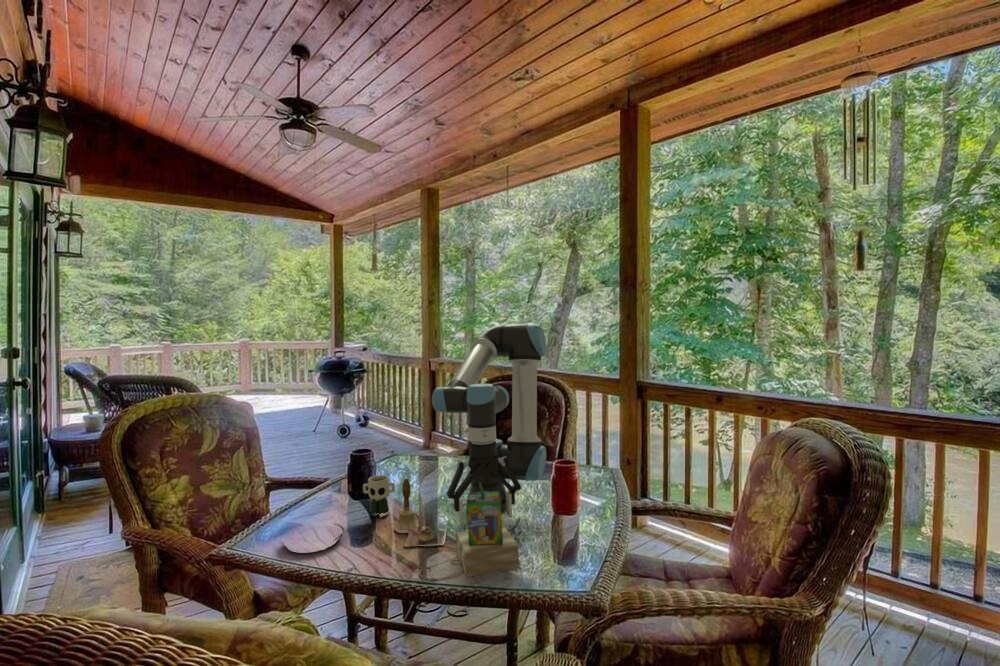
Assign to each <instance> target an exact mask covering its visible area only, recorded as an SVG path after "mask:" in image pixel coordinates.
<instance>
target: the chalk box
mask: <svg viewBox="0 0 1000 666" xmlns="http://www.w3.org/2000/svg"><path fill="white" fill-rule="evenodd" d="M479 486H480V491H481V492H475V493H469V492H468V496H467V498H468V500H467V499H466V502H467V503H466V512H467V513H466V515H467V531H468V535H469V546H473V545H487V544H503V536H502V526H503V525H502V524H503V522H502V521H503V519H502V512H501V500H500V492H488V491H486V492H484V491H483V488H482V485H481V483H480V484H479ZM481 489H482V490H481Z"/></svg>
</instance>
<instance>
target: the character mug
mask: <svg viewBox="0 0 1000 666" xmlns="http://www.w3.org/2000/svg"><path fill="white" fill-rule="evenodd" d="M390 486H391V489H390ZM367 489H368V490H367ZM362 492H363V494H368V497H369V498H370V499H371V505H370V513H371V512H372V513H376V514H377V513H379V514H381V513H386V512H388V511H389V512H390V508H389V503H388V499H387V497H389V496H390V494H391V493H395V492H396V484H395V482H390V477H389V476H388V475H373V476H370V477H369V478H367V483H363V485H362Z"/></svg>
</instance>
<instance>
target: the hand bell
mask: <svg viewBox="0 0 1000 666" xmlns="http://www.w3.org/2000/svg"><path fill="white" fill-rule="evenodd" d="M401 488H402V489H401V491H402V496H403V510H402V511H400V512H399V517H398V522H397V524H396V526H395V527H397V528H398V529H400V530H413V529H416V528H418V527H419V525H420V524H419V523H418V522H417V520H416V518H415V513H414V511H413V510H411V509H410V496H411V484H410V480H409V478H404V479H403V482H402V487H401Z"/></svg>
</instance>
